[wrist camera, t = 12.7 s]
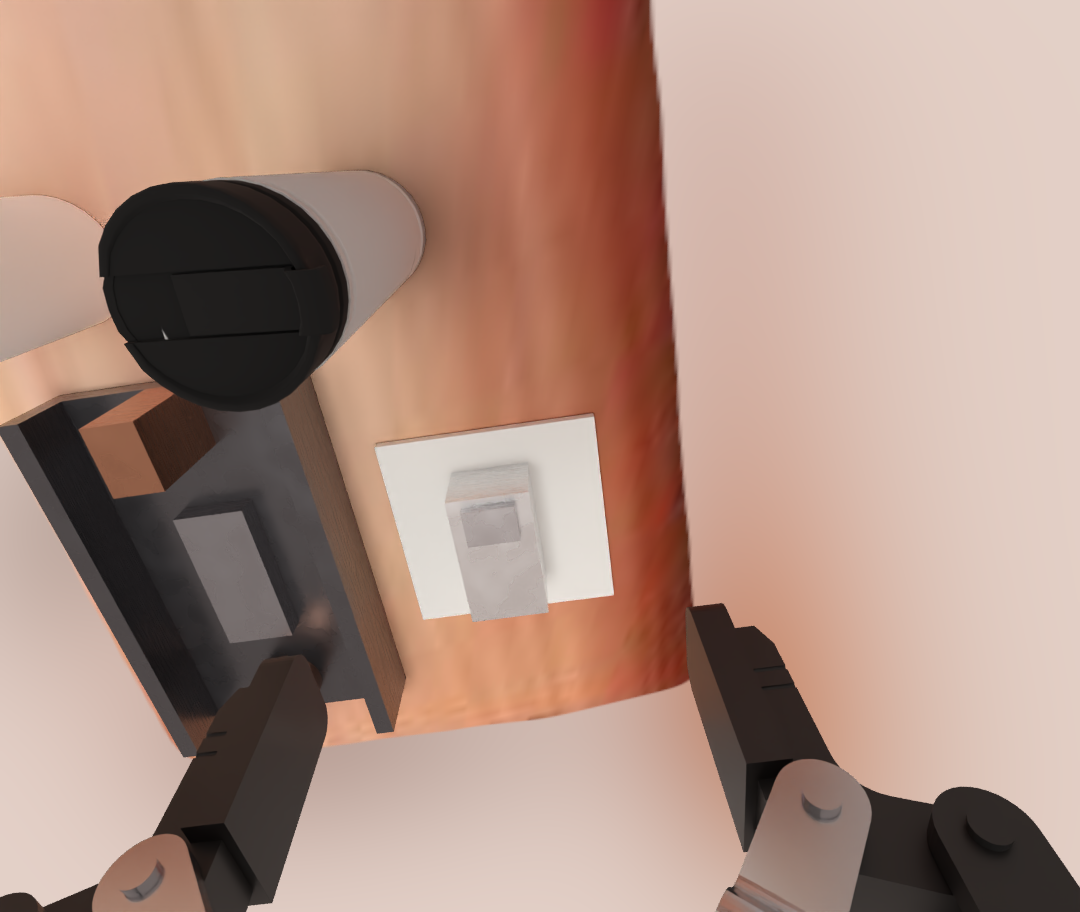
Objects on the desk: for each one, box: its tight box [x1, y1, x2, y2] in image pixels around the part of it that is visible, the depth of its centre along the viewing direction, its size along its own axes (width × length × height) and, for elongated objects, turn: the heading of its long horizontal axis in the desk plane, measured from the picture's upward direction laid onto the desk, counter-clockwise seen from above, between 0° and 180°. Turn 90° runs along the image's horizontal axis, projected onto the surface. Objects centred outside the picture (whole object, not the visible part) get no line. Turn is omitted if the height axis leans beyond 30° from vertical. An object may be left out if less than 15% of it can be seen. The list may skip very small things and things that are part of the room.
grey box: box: [444, 462, 549, 622], centre depth 40 cm, size 9×5×5 cm, turn 8°
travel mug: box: [98, 170, 426, 412], centre depth 25 cm, size 6×7×20 cm
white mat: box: [374, 413, 614, 620], centre depth 42 cm, size 14×14×1 cm
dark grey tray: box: [0, 376, 406, 757], centre depth 40 cm, size 26×15×8 cm, turn 8°
